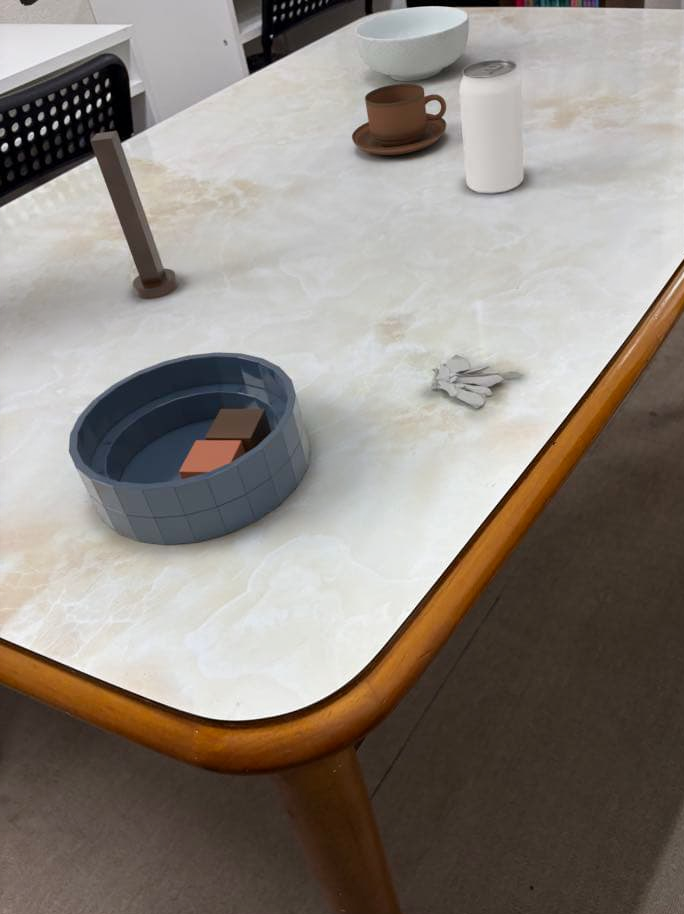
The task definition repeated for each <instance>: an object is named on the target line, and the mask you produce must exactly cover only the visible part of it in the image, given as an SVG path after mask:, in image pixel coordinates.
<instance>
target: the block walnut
mask: <svg viewBox="0 0 684 914" xmlns="http://www.w3.org/2000/svg"><path fill="white" fill-rule="evenodd" d="M270 433H271V429H270V425H269V422H268V418H267V415H266V412H265V409H221V410H220V411H219V413H218V415H217V417H216V419H215V420H214V422H213V424H212V426H211V428H210V429H209V431H208V433H207V435H206V437H205V439H206V440H241V441H242V444H243V447H244V450H245V453H247V452H249V451H250V450H252V449H253V448H255V447H257V446H258V445H259V444H260V443H261V442H262V441H263V440H264V439H265V438H266V437H267V436H268V435H269V434H270Z"/></svg>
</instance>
